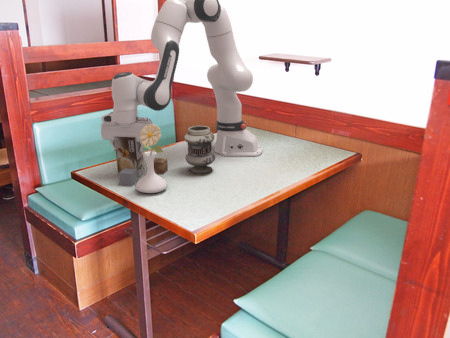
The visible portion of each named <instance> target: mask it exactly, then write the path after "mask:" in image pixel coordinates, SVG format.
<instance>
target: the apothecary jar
mask: <svg viewBox="0 0 450 338" xmlns="http://www.w3.org/2000/svg"><path fill="white" fill-rule="evenodd" d="M187 129H188V130H187V133H186V134H185V135H184V138H183V139H184V141H185V143H187V154H185V158H184V159H185V161H186V163H187V164H188V165H191V166H192V167H190V168H189V169H188V173H189V174H191V175H192V176H193V175H194V176H205V175H209V174H211V173H213V171H214V169H213V167H211V166H209V165H211V164H213V163H214V162H215V159H216V154H215V153H214V152H213V149H212V148H213V145H212V142H214V141H215V135H214V133H213V132H212V131H211V128H210V126H207V125H193V126H190V127H188V128H187Z"/></svg>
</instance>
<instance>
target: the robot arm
mask: <svg viewBox="0 0 450 338" xmlns="http://www.w3.org/2000/svg"><path fill="white" fill-rule="evenodd" d="M187 23H193V24H198V23H202V25H203V27H204V32H205V37H206V40H207V45H208V48H209V52H210V55H211V56H212V58H213V59H214V60H215V61H216V64H213V65H211V66H210V67H209V68H208V70H207V74H206V78H207V81H208V83H209V84H210V86H211V87H212V90H213V93H214V98H215V101H216V124H215V131H216V139H215V140H216V141H215V145H214V149H213V150H214V152H215V153H217V154H218V155H219V154H220V155H221V156H222V157H258V156H261V155H262V153H263V151H264V149H263V146H261V145H259V142H258V138H257V136H256V135H255V134H253V133H252V132H251V131H250V130H248V129H247V120H246V121H244V120H243V119H242V108H243V105H242V102H241V100H240V99H239V97H238V95H237V93H241V92H247V91H248V90H249V89H250V88H251V87H252V85H253V81H254V76H253V73H252V71H251V70H249V69H248V67H247V66H246V65H245V63H244V62H243V60H242V57H241V56H240V54H239V51H238V48H237V45H236V41H235V38H234V32H233V27H232V25H231V20H230V17H229V14H228V12H227V10H226V8H225V7H224V6H223V5H221V4H220V2H219V0H165V1H164V2H163V4H162V5H161V8H160V9H159V11H158V14H157V16H156V17H155V21H154V23H153V26H152V28H151V29H152V30H151V34H150V39H151V43H152V45H153V47H154V48H155V49H156V50H157V51H158V52H159V55H160V56H159V57H160V58H159V59H160V60H159V63H158V67H157V71H156V74H155V75H156V76H155V79H154V80H153V81H151V80H148V79H144V78H141V77H139V76H137V75H135V74H134V72H131V71H124V72H119V73H116V74H115V75H114V76H113V77H112V80H111V98H112V101H113V107H112V111H111V112H109V113H106V114H104V115H102V116H101V122H102V123H101V124H100V137H101V138H102V139H103V140H104V141H105V140H106V141H107V140H108V141H109V143H110V145H111V146H112V148H113V152H116V150H115V142H114V137H135V138H136V142H140V144H141V145H142V146H141V147H140V148H138V152H139V153H144V148H145V147H144V146H143V144H142V143H141V139H140V133H141V132H142V131H141V130H142V129H143V128H144V126H147V125H148V124H149V125H151V124H153V121H152V120H151V119H150V118H149V117H140V116H139V111H138V107H139V106H143V107H147V108H149V109H151V110H152V111H157V112H158V111H159V112H160V111H163V110H165V108H167V107H168V106H169V105H170V102H171V100H172V87H173V80H174V78H175V73H176V69H177V65H178V61H179V55H180V42H181V39H182V36H183V32H184V30H185V26H186V24H187Z"/></svg>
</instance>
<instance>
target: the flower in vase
mask: <svg viewBox="0 0 450 338" xmlns="http://www.w3.org/2000/svg"><path fill="white" fill-rule="evenodd" d="M141 131H142V132H141V133H140V139H141V143H142V144H143V146H144V148H146V149H148V151H145V152H144V151H143V154H142V155H143V158H144V159H145V162H146V166H147V171H146V172H147V173H146V174H145V175H143V176H142V177H141V178H140V179H138V182H137V183H136V184H135V188H136V190H137V191H138V192H140V193H146V194H155V193H160V192H162V191H164V190H166V189H167V188H168V185H169V184H168V182H167V180H166V179H165V178H164V177H162V176H160V175H159V174H156V173H155V172H154V159H155V158H156V156H157V154H159V153H164V150H163V149H162V147H161V146H160V145H159V144H158V145H157V143H158V141H160V139H161V137H162V134H161V133H162V131H161V128H160V127H159V126H158V125H156V124H154V123H152V124H151V125H149V124H148V125H147V126H144V128H143V129H142V130H141ZM152 146H153V147H152ZM151 147H152V148H151Z"/></svg>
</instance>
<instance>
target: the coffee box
mask: <svg viewBox="0 0 450 338" xmlns="http://www.w3.org/2000/svg"><path fill="white" fill-rule="evenodd" d="M114 142H115V150H116V151H115V158H116V166H117V175H118V177H119V172H121V171H122V170H123V169H124V168H127V169H137V176H138V178H141V176H144V174H145V172H146V169H145V160H144V159H145V157H144V156H143V155H142V154H143V153H144V152H143V153H139V152H138V148H140V147H141V146H142V145H141V144H140V142H136V138H135V137H114Z"/></svg>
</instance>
